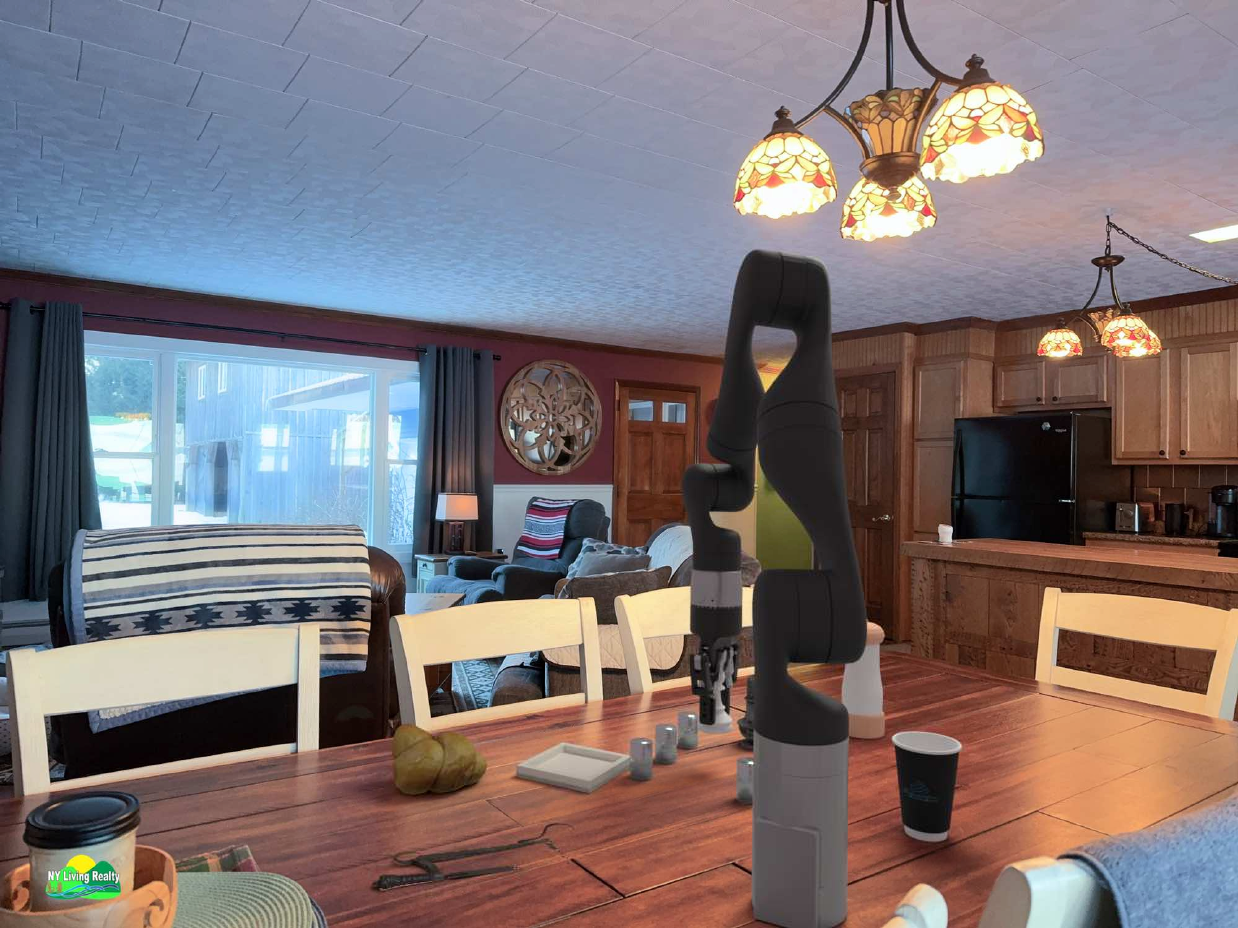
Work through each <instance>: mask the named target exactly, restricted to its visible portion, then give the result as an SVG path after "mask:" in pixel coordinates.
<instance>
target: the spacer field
mask: <svg viewBox="0 0 1238 928" xmlns="http://www.w3.org/2000/svg"><path fill="white" fill-rule="evenodd" d="M698 717H699V713H697V711H696V712H695V711H689V710H688V711H687V710H684V711H679V712H678V713H677V725H675V724H671V723H659V724H656V725H655V727H654V731H655V732H654V733H655V734H654V736H655V737H654V741H653V739H651V738H647V737H634V738H631V739H630V740H629V755H630V768H629V779H631V780H632V781H636V782H645V781H650V780H652V779H653V750H654V761H655V763H657V764H660V765H673V764H675V763H677V747H678V748H679V749H683V750H695V749H698V747H699V730H698V729H697V723H698V720H697V718H698ZM653 744H654V745H653ZM653 747H654V749H653ZM736 801H738V802H739V803H741V804H745V805H753V757H752V756H749V757H747V756H744V757H739V758H738V759H736Z"/></svg>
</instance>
